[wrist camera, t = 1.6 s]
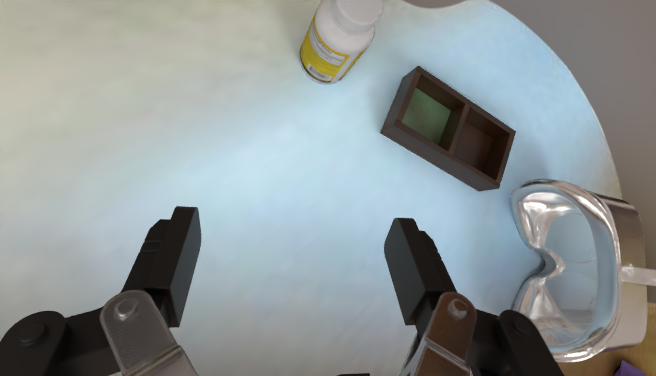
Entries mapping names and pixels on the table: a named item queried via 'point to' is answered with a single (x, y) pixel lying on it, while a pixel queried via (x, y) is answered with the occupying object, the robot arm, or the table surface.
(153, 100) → the table surface
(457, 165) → the divided box
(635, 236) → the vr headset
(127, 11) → the table surface
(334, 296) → the table surface
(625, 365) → the snack package
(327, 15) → the supplement bottle
